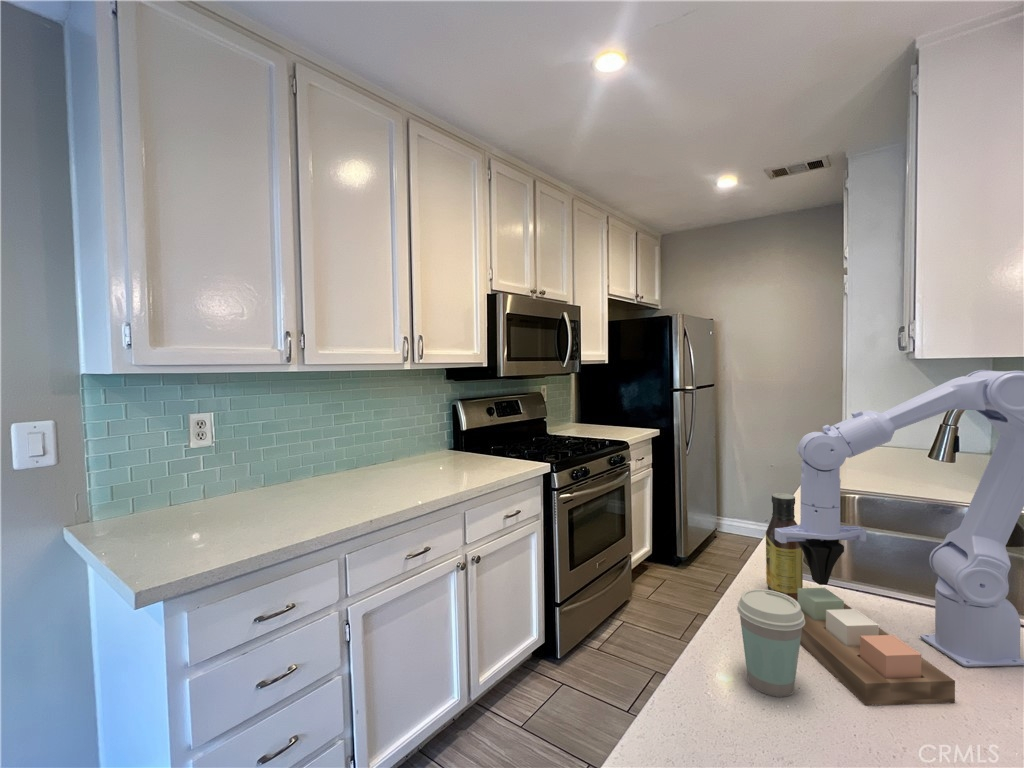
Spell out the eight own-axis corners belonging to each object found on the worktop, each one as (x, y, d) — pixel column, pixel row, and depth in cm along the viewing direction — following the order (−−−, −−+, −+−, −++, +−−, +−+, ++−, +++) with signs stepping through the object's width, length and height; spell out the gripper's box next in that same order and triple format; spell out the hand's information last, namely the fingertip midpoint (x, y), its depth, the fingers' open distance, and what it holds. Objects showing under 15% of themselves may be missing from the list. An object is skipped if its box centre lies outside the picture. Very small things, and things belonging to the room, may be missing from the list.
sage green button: (824, 609, 85) (824, 587, 85) (843, 624, 80) (843, 600, 80) (797, 610, 85) (797, 588, 85) (815, 625, 80) (815, 601, 80)
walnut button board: (840, 617, 86) (840, 600, 86) (954, 702, 64) (955, 680, 64) (774, 619, 86) (773, 602, 86) (865, 705, 64) (865, 683, 64)
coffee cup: (815, 707, 64) (815, 618, 64) (746, 700, 66) (746, 613, 65) (792, 667, 72) (791, 589, 72) (731, 662, 74) (730, 585, 74)
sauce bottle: (773, 584, 100) (772, 488, 99) (807, 594, 95) (807, 494, 94) (760, 594, 95) (760, 495, 95) (795, 605, 91) (795, 501, 90)
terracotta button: (892, 661, 70) (892, 634, 70) (921, 683, 65) (921, 654, 65) (860, 662, 70) (860, 635, 70) (885, 684, 65) (886, 655, 65)
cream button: (855, 633, 78) (855, 608, 78) (878, 651, 73) (878, 624, 73) (825, 634, 78) (825, 609, 77) (846, 651, 73) (847, 625, 73)
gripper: (845, 496, 86) (845, 571, 87) (765, 498, 86) (765, 573, 86) (876, 507, 79) (875, 589, 80) (788, 509, 79) (788, 591, 79)
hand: (819, 582), depth 83 cm, fingers closed
